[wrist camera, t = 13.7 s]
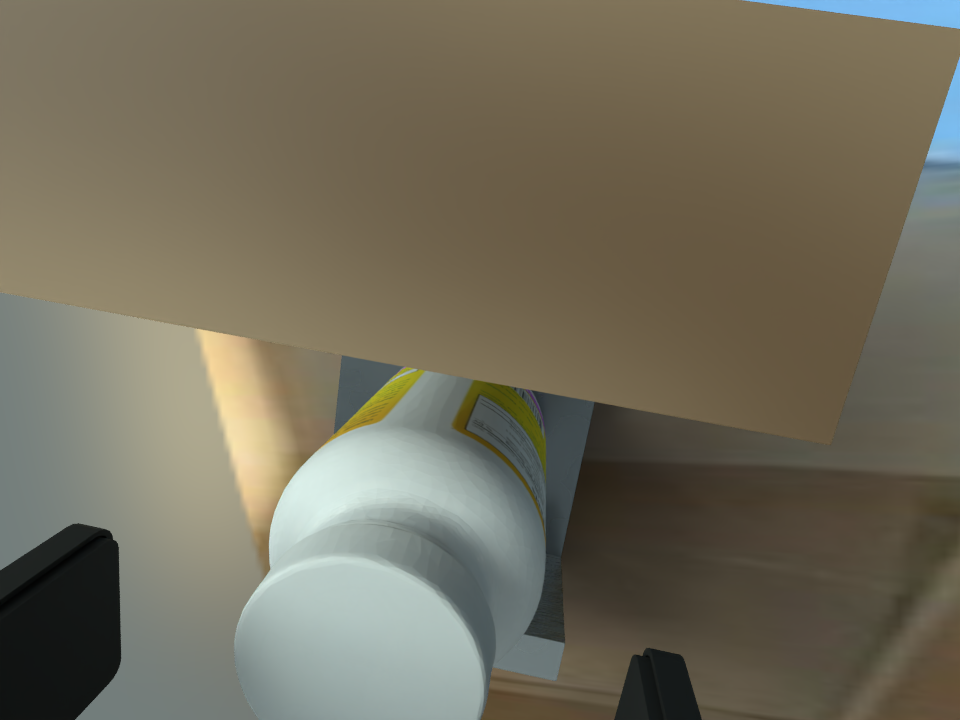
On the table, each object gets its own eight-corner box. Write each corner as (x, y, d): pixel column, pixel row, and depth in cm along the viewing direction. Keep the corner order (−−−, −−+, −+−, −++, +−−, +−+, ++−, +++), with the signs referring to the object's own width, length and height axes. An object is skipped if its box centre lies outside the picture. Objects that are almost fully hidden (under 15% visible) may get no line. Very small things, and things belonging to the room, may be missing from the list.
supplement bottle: (372, 488, 23) (172, 780, 11) (388, 332, 22) (176, 468, 9) (532, 518, 23) (511, 862, 10) (560, 361, 21) (576, 545, 9)
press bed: (374, 155, 22) (306, 124, 16) (633, 195, 21) (671, 181, 15) (335, 522, 26) (267, 617, 19) (553, 567, 25) (556, 681, 19)
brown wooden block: (374, 150, 20) (-236, -129, 4) (626, 190, 20) (967, 31, 4) (365, 235, 21) (-187, 258, 5) (608, 276, 20) (830, 445, 4)
